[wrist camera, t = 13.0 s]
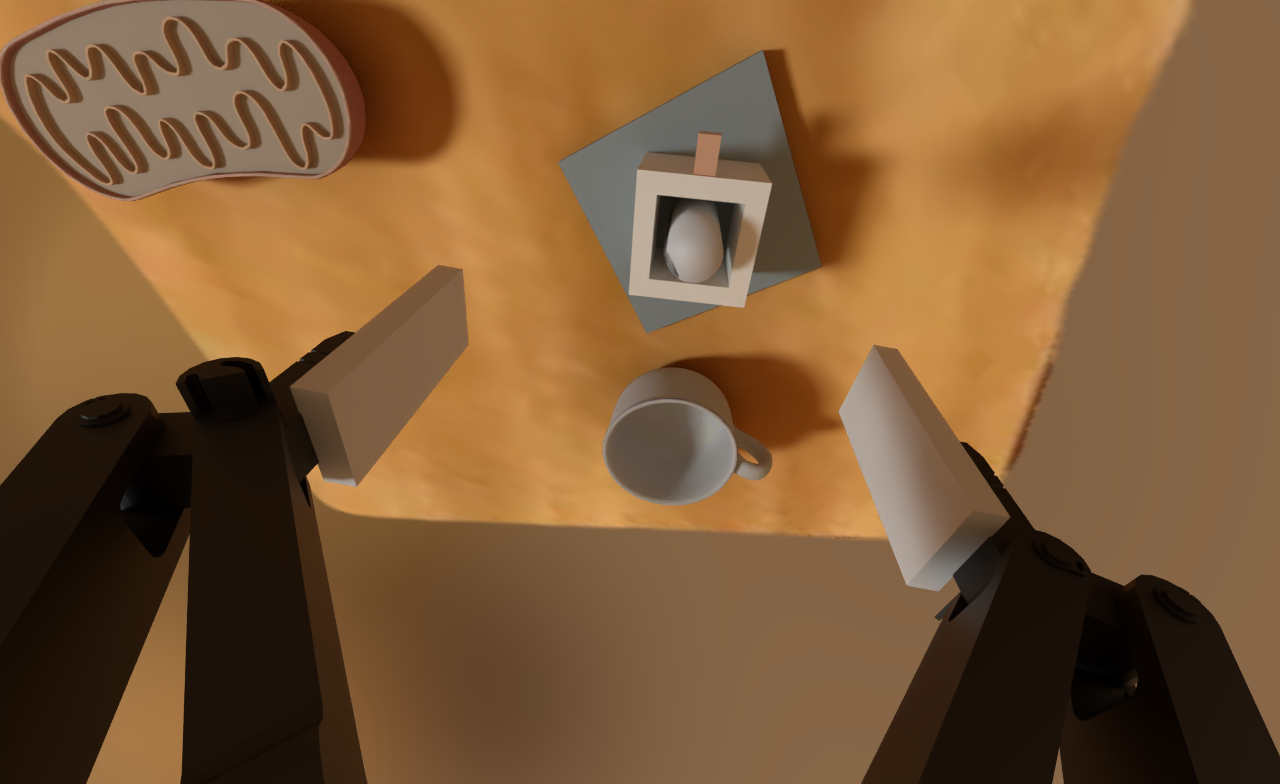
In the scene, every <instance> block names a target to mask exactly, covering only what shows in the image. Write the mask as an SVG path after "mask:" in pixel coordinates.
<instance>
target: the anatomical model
mask: <svg viewBox="0 0 1280 784" xmlns="http://www.w3.org/2000/svg"><path fill="white" fill-rule="evenodd" d="M0 85H1V88H2V91H3V94H4V97H5V100H6V103H7V105H8V107H9V109H10V110H11V112H12V114H13V115H14V117H15V119H16V120H17V122H18V124H19V125H20V127H21V129H22V130H23V131H24V133H25V134H26V135H27V136H28V137H29V139H30V140H31V141H32V142H33V143H34V144H35V146H36V147H37V148H38V149H39V150H40V151H41V153H42V154H43V155H44V156H45V157H46V158H47V159H48V160H49V161H51V162H52V163H53V164H54V165H55V166H57V167H58V168H59V169H60V170H61V171H62V172H64V173H65V174H66V175H67V176H68V177H70V178H72V179H73V180H75V181H76V182H78V183H80V184H81V185H83V186H84V187H86V188H88V189H89V190H91V191H94V192H96V193H98V194H101V195H103V196H106V197H109V198H111V199H116V200H121V201H136V200H140V199H143V198H146V197H149V196H152V195H155V194H157V193H160V192H163V191H166V190H169V189H171V188H174V187H177V186H181V185H185V184H189V183H193V182H197V181H203V180H209V179H215V178H224V177H236V176H267V177H283V178H299V179H320V178H323V177H326V176H328V175H330V174H332V173H334V172H335V171H337V170H338V169H340V168H341V167H343V166H345V165H346V164H347V163H348V162H349V161H350V160H351V159H352V158H353V156H354V155H355V153H356V152H357V150H358V148H359V147H360V145H361V143H362V140H363V137H364V132H365V125H366V111H365V102H364V98H363V94H362V91H361V88H360V85H359V83H358V80H357V78H356V76H355V74H354V73H353V71H352V69H351V68H350V66H349V64H348V63H347V61H346V59H345V58H344V57H343V55H342V54H341V53H340V52H339V50H338V49H337V48H336V47H335V46H334V44H333V43H332V42H331V41H330V40H329V39H327V38H326V37H325V36H324V35H323V34H322V33H321V32H320V31H319V30H318V29H316V28H315V27H314V26H312V25H311V24H309V23H308V22H307V21H305V20H304V19H302V18H300V17H299V16H297V15H296V14H294V13H292V12H290V11H287V10H285V9H283V8H281V7H279V6H276V5H274V4H271V3H268V2H265V1H262V0H105V1H101V2H97V3H93V4H89V5H85V6H82V7H79V8H77V9H74V10H71V11H69V12H66V13H63V14H61V15H58V16H56V17H53V18H51V19H49V20H47V21H45V22H43V23H41V24H39V25H38V26H36V27H34V28H32V29H30V30H28V31H26V32H24V33H22V34H20V35H19V36H17V37H15V38H13V39H11V40H10V41H9V42H8V43H7V44H6V45H5V46H4V47H3V48H2V50H1V52H0Z"/></svg>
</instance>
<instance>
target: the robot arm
mask: <svg viewBox="0 0 1280 784" xmlns="http://www.w3.org/2000/svg"><path fill="white" fill-rule="evenodd" d="M468 345H469V343H468V331H467V318H466V305H465V292H464V280H463V269H458V268H453V267H447V266H442V265H438V266H437V267H435V268H434V269H433V270H432V271H430V272H429V273H428V274H427V275H426V276H424V277H423V278H422V279H421V280H419V281H418V282H417V283H416V284H415V285H413V286H412V287H411V288H410V289H408V290H407V291H406V292H405V293H404V294H402V295H401V296H400V297H399V298H397V299H396V300H395V301H394V302H393V303H391V304H390V305H389V306H388V307H386V308H385V309H384V310H383V311H382V312H380V313H379V314H378V315H377V316H375V317H374V318H373V319H372V320H371V321H369V322H368V323H367V324H366V325H364V326H363V327H362V328H361V329H360V330H358V331H357V332H356V333H354V332H349V331H345V332H342V333H340V334H337V335H335V336H332V337H330V338H327V339H325V340H324V341H323V342H321V343H320V344H319V345H317V346H316V347H315V348H313V349H312V350H311V353H310V352H308V353H307V354H306V355H304V356H303V357H302V358H300V361H299V362H295V363H294V364H293V365H291V366H290V367H289V368H287V369H286V370H285V371H284V372H282V373H281V374H280V375H278V376H277V377H276V378H274V379H273V380H272V381H271V382H269V381H268V379H267V376H266V374H265V371H264V369H263V367H262V365H261V364H260V363H259V362H257V361H255V360H252V359H249V358H240V357H231V358H220V359H216V360H212V361H207V362H204V363H201V364H199V365H197V366H195V367H192V368H190V369H188V370H187V371H186V372H184V373H183V374H182V375H180V376H179V378H178V380H177V382H176V386H177V388H178V390H179V391H180V393H181V395H182V397H183V399H184V400H185V402H186V404H187V406H188V408H189V410H190V412H180V413H158V412H157V410H156V409H155V407H154V406H153V404H152V402H151V401H150V400H149V399H148V398H147V397H146V396H142V395H139V394H131V393H129V394H128V393H119V394H113V395H104V396H100V397H96V398H94V399H90V400H87V401H84V402H82V403H80V404H78V405H76V406H74V407H72V408H70V409H68V410H67V411H65V413H63V414H62V415H61V416H60V417H58V418H57V419H56V420H55V421H54V423H53V424H52V425H51V426H50V427H49V429H48V430H47V431H46V432H45V433H44V434H43V436H42V437H41V438H40V439H39V440H38V442H37V443H36V444H35V445H34V446H33V447H32V449H31V450H30V451H29V452H28V453H27V455H26V456H25V457H24V458H23V459H22V460H21V462H20V463H19V464H18V465H17V466H16V468H15V469H14V470H13V471H12V472H11V474H10V475H9V476H8V477H7V478H6V479H5V481H4V482H3V483H2V484H1V486H0V784H86V783H87V780H88V778H89V776H90V773H91V771H92V768H93V766H94V764H95V761H96V759H97V756H98V754H99V751H100V749H101V747H102V744H103V742H104V739H105V737H106V735H107V732H108V729H109V727H110V725H111V722H112V720H113V718H114V715H115V713H116V710H117V708H118V706H119V703H120V701H121V698H122V696H123V693H124V691H125V688H126V686H127V684H128V681H129V679H130V677H131V674H132V672H133V669H134V667H135V664H136V662H137V660H138V657H139V655H140V652H141V650H142V647H143V645H144V643H145V640H146V638H147V635H148V633H149V631H150V628H151V626H152V623H153V621H154V619H155V616H156V613H157V611H158V609H159V606H160V604H161V602H162V599H163V597H164V594H165V592H166V590H167V587H168V585H169V582H170V580H171V578H172V575H173V572H174V570H175V568H176V565H177V563H178V561H179V558H180V556H181V553H182V551H183V548H184V546H185V544H186V541H187V539H188V536H189V534H190V545H189V546H190V547H189V575H188V605H187V634H186V666H185V693H184V724H183V753H182V755H183V756H182V776H181V783H180V784H368V783H367V780H366V775H365V771H364V766H363V761H362V755H361V750H360V745H359V739H358V734H357V729H356V724H355V718H354V713H353V708H352V703H351V698H350V692H349V687H348V683H347V677H346V672H345V666H344V661H343V656H342V651H341V645H340V641H339V635H338V630H337V625H336V619H335V614H334V609H333V604H332V598H331V593H330V588H329V583H328V578H327V572H326V567H325V562H324V557H323V552H322V546H321V542H320V536H319V531H318V526H317V520H316V516H315V510H314V505H313V499H312V494H311V489H310V485H309V482H308V480H307V477H306V476H307V474H308V473H309V472H310V471H311V470H312V469H313V468H314V467H315V466H316V465H317V464H318V466H319V468H320V471H321V474H322V477H323V479H324V481H326V482H332V483H337V484H343V485H349V486H354V487H357V486H358V485H359V483H360V482H361V481H362V479H363V478H364V477H365V476H366V474H367V473H368V472H369V471H370V469H371V468H372V467H373V465H374V464H375V463H376V462H377V460H378V459H379V458H380V457H381V455H382V454H383V453H384V451H385V450H386V449H387V448H388V446H389V445H390V444H391V443H392V441H393V440H394V439H395V437H396V436H397V435H398V434H399V432H400V431H401V430H402V429H403V427H404V426H405V425H406V423H407V422H408V421H409V420H410V418H411V417H412V416H413V415H414V413H415V412H416V411H417V409H418V408H419V407H420V406H421V404H422V403H423V402H424V401H425V399H426V398H427V397H428V395H429V394H430V393H431V392H432V390H433V389H434V388H435V387H436V385H437V384H438V383H439V381H440V380H441V379H442V378H443V376H444V375H445V374H446V373H447V371H448V370H449V369H450V367H451V366H452V365H453V364H454V362H455V361H456V360H457V359H458V357H459V356H460V355H461V353H462V352H463V351H464V350H465V348H466V347H467V346H468ZM839 414H840V417H841V419H842V422H843V424H844V427H845V429H846V432H847V435H848V437H849V440H850V442H851V445H852V447H853V450H854V452H855V455H856V457H857V460H858V463H859V465H860V468H861V470H862V473H863V475H864V478H865V480H866V483H867V485H868V488H869V491H870V493H871V496H872V498H873V501H874V503H875V506H876V508H877V511H878V514H879V516H880V519H881V521H882V524H883V526H884V529H885V531H886V534H887V536H888V539H889V542H890V544H891V547H892V549H893V552H894V554H895V557H896V559H897V562H898V564H899V567H900V569H901V572H902V575H903V577H904V580H905V582H906V585H907V586H912V587H918V588H924V589H929V590H935V591H939V590H940V589H941V588H942V587H943V586H944V585H945V584H946V583H947V582H948V581H949V580H950V579H951V578H952V577H954V579H955V581H956V583H957V585H958V587H959V589H960V591H961V592H960V593H959V594H958V595H957V596H956V597H955V598H954V599H953V600H952V601H950V602H949V603H948V604H947V605H946V606H945V607H944V608H943V609H942V610H941V611H940V612H939V613H938V614H937V615H936V616H935V618H936V619H938V620H941V619H942V618H943V619H942V621H941V623H940V625H939V627H938V629H937V631H936V633H935V635H934V637H933V640H932V641H931V643H930V646H929V647H928V650H927V651H926V654H925V655H924V657H923V660H922V662H921V664H920V666H919V668H918V670H917V672H916V674H915V676H914V678H913V680H912V682H911V684H910V686H909V688H908V690H907V692H906V694H905V696H904V698H903V700H902V702H901V704H900V706H899V708H898V710H897V712H896V714H895V716H894V719H893V720H892V722H891V724H890V727H889V728H888V730H887V733H886V734H885V737H884V738H883V741H882V743H881V745H880V747H879V749H878V751H877V753H876V755H875V757H874V759H873V761H872V763H871V765H870V767H869V769H868V771H867V773H866V775H865V777H864V779H863V781H862V783H861V784H1052V781H1053V776H1054V771H1055V766H1056V761H1057V756H1058V750H1059V747H1060V755H1061V764H1062V772H1063V779H1064V784H1280V756H1279V753H1278V751H1277V749H1276V747H1275V745H1274V743H1273V740H1272V738H1271V736H1270V734H1269V732H1268V730H1267V727H1266V725H1265V723H1264V721H1263V719H1262V716H1261V714H1260V712H1259V710H1258V708H1257V706H1256V704H1255V701H1254V699H1253V697H1252V695H1251V693H1250V690H1249V688H1248V686H1247V684H1246V682H1245V679H1244V677H1243V675H1242V673H1241V671H1240V669H1239V666H1238V664H1237V662H1236V660H1235V658H1234V655H1233V654H1232V651H1231V649H1230V647H1229V645H1228V643H1227V640H1226V638H1225V636H1224V634H1223V632H1222V629H1221V627H1220V626H1219V624H1218V622H1217V621H1216V619H1215V618H1214V616H1213V615H1212V614H1211V613H1210V612H1209V611H1208V610H1207V609H1206V608H1205V607H1204V606H1203V605H1202V604H1201V602H1200V601H1199V600H1198V599H1197V598H1195V597H1194V596H1193V595H1190V594H1189V592H1187V591H1186V590H1184V589H1182V588H1181V587H1178V586H1176V585H1174V584H1172V583H1171V582H1169V581H1167V580H1164V579H1161V578H1158V577H1156V576H1153V575H1140V576H1138V577H1137V578H1135V579H1134V580H1132V581H1131V582H1130V583H1128V584H1127V585H1125V586H1123V585H1120V584H1118V583H1115V582H1113V581H1111V580H1108V579H1106V578H1103V577H1101V576H1099V575H1096V574H1094V573H1091V570H1090V568H1089V567H1088V565H1087V564H1086V562H1085V561H1084V559H1083V558H1082V557H1081V556H1079V554H1078V553H1077V552H1075V550H1074V549H1072V548H1071V547H1070V546H1068V545H1067V544H1065V543H1064V542H1062V541H1061V540H1060V539H1058V538H1056V537H1054V536H1051V535H1049V534H1047V533H1045V532H1041V531H1037V530H1035V529H1034V528H1033V526H1032V525H1031V524H1030V522H1029V521H1028V520H1027V518H1026V517H1025V515H1024V514H1023V512H1022V511H1021V509H1020V508H1019V507H1018V505H1017V504H1016V503H1015V501H1014V500H1013V498H1012V497H1011V495H1010V494H1009V493H1008V491H1007V490H1006V489H1005V488H1003V486H1004V485H1003V484H1002V483H1001V481H1000V480H999V478H998V477H997V476H994V471H993V470H992V468H991V467H990V466H989V464H988V463H987V461H986V460H985V459H984V457H983V456H981V455H980V454H979V453H978V452H977V451H976V450H974V449H973V448H972V447H971V446H970V445H969V444H968V443H965V442H960V441H959V440H958V438H957V437H956V435H955V434H954V432H953V431H952V429H951V428H950V427H949V425H948V424H947V422H946V421H945V419H944V418H943V416H942V415H941V413H940V412H939V410H938V409H937V407H936V406H935V404H934V403H933V401H932V400H931V398H930V397H929V395H928V394H927V392H926V391H925V389H924V388H923V386H922V385H921V383H920V382H919V381H918V379H917V378H916V376H915V375H914V373H913V372H912V370H911V369H910V367H909V366H908V364H907V363H906V361H905V360H904V358H903V357H902V355H901V354H900V352H899V351H898V349H894V348H888V347H883V346H877V345H873V347H872V349H871V351H870V353H869V355H868V356H867V358H866V360H865V362H864V364H863V366H862V368H861V370H860V372H859V374H858V376H857V378H856V379H855V381H854V383H853V385H852V387H851V389H850V391H849V393H848V395H847V397H846V399H845V401H844V403H843V404H842V406H841V408H840V410H839ZM1135 684H1137V687H1135Z"/></svg>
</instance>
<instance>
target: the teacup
mask: <svg viewBox="0 0 1280 784" xmlns="http://www.w3.org/2000/svg"><path fill="white" fill-rule="evenodd" d="M737 446H738V447H740V448H742V449H744V450H745V451H747V452H748V453H750V454H751V455H752V456H753V457H754V458H755V459H756V460H757V461H758V463H759V464H755V463H751V462H749V461H746V460H745V459H744V458H743V457H742V456H741V455H740V454H739V452H738V447H737ZM603 457H604V462H605V465H606V467H607V469H608V471H609V473H610V475H611V476H612V478H613V479H614V480H615V481H616V482H617V483H618V484H619V485H620V486H621V487H622V488H623V489H624V490H626V491H628V492H629V493H630V494H632V495H634V496H636V497H638V498H640V499H642V500H645V501H648V502H651V503H657V504H661V505H686V504H691V503H695V502H698V501H701V500H704V499H706V498H708V497H710V496H712V495H714V494H715V493H716V492H718V491H719V490H720V489H721V488H722V487H723V486H724V485H725V484H726V483H727V481H728V480H729V479H730V478H731V476H732V474H733V472H735V473H736V474H738V475H739V476H741V477H743V478H746V479H750V480H760V479H762V478H764V477H765V476H766V475H767V474H768V473H769V472H770V469H771V467H772V456H771V453H770V452H769V450H768V449H767V448H766V447H765V446H764V445H763V444H762V443H761V442H760V441H758V440H757V439H755V438H754V437H752V436H750V435H749V434H747V433H745V432H743V431H741V430H739V429H738V428H737V427H736V426H735V425H734V424H733V421H732V416H731V411H730V408H729V405H728V402H727V400H726V398H725V396H724V395H723V393H722V392H721V390H720V389H719V388H718V387H717V386H716V385H715V384H714V383H713V382H712V381H711V380H709V379H708V378H706V377H705V376H703V375H701V374H699V373H697V372H694V371H692V370H688V369H684V368H676V367H668V368H660V369H655V370H652V371H649V372H647V373H645V374H643V375H641V376H639V377H638V378H636V379H635V380H634V381H632V382H631V383H630V384H629V385H628V386H627V387H626V389H625V390H624V391H623V393H622V394H621V396H620V397H619V399H618V401H617V404H616V406H615V409H614V412H613V415H612V418H611V422H610V425H609V428H608V430H607V433H606V435H605V438H604V443H603Z"/></svg>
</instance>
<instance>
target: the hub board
mask: <svg viewBox="0 0 1280 784" xmlns="http://www.w3.org/2000/svg"><path fill="white" fill-rule="evenodd" d="M699 131H708V132H718V133H721V135H722V137H721V143H720V150H719V156H718V159H722V160H732V161H741V162H751V163H760V164H761V166H762V167H763V169H764V171H765V172H766V174H767V176H768V177H769V179H770V181H771V182H772V187H771V191H770V196H769V200H768V204H767V209H766V213H765V218H764V222H763V227H762V231H761V235H760V240H759V244H758V249H757V253H756V258H755V262H754V266H753V271H752V275H751V280H750V284H749V289H748V293H747V295H749V294H751V293H754V292H757V291H759V290H762V289H765V288H767V287H770V286H772V285H775V284H778V283H780V282H783V281H786V280H788V279H791V278H793V277H796V276H799V275H801V274H804V273H807V272H809V271H812V270H814V269H817V268H820V267H822V265H821V262H820V258H819V254H818V251H817V247H816V243H815V240H814V236H813V232H812V229H811V225H810V221H809V218H808V214H807V210H806V207H805V203H804V199H803V196H802V192H801V188H800V185H799V181H798V177H797V174H796V170H795V166H794V163H793V159H792V155H791V152H790V148H789V144H788V141H787V137H786V133H785V130H784V126H783V122H782V119H781V115H780V111H779V108H778V104H777V100H776V97H775V93H774V89H773V86H772V82H771V78H770V75H769V71H768V67H767V64H766V60H765V56H764V53H763V50H761V51H759V52H757V53H755V54H753V55H752V56H750V57H748V58H746V59H744V60H742V61H741V62H739V63H737V64H735V65H733V66H732V67H730V68H728V69H726V70H724V71H722V72H721V73H719V74H717V75H715V76H713V77H712V78H710V79H708V80H706V81H704V82H702V83H701V84H699V85H697V86H695V87H693V88H691V89H690V90H688V91H686V92H684V93H682V94H681V95H679V96H677V97H675V98H673V99H671V100H670V101H668V102H666V103H664V104H662V105H661V106H659V107H657V108H655V109H653V110H651V111H650V112H648V113H646V114H644V115H642V116H640V117H639V118H637V119H635V120H633V121H631V122H630V123H628V124H626V125H624V126H622V127H620V128H619V129H617V130H615V131H613V132H611V133H609V134H608V135H606V136H604V137H602V138H600V139H599V140H597V141H595V142H593V143H591V144H589V145H588V146H586V147H584V148H582V149H580V150H579V151H577V152H575V153H573V154H571V155H569V156H568V157H566V158H564V159H562V160H561V161H560V162H558V163H559V165H560V167H561V169H562V171H563V173H564V174H565V176H566V178H567V180H568V182H569V184H570V186H571V188H572V190H573V192H574V194H575V196H576V198H577V200H578V201H579V203H580V205H581V207H582V209H583V211H584V213H585V215H586V217H587V219H588V221H589V223H590V225H591V227H592V229H593V230H594V232H595V234H596V236H597V238H598V240H599V242H600V244H601V246H602V248H603V250H604V252H605V254H606V256H607V257H608V259H609V261H610V263H611V265H612V267H613V269H614V271H615V273H616V275H617V277H618V279H619V281H620V283H621V285H622V286H623V288H624V290H625V292H626V294H627V296H628V298H629V300H630V302H631V304H632V306H633V308H634V310H635V312H636V313H637V315H638V317H639V319H640V321H641V323H642V325H643V327H644V329H645V331H646V333H649V332H652V331H654V330H657V329H660V328H662V327H665V326H667V325H670V324H673V323H675V322H678V321H681V320H683V319H686V318H688V317H691V316H694V315H696V314H699V313H702V312H704V311H707V310H709V309H712V308H715V307H717V306H720V305H715V304H706V303H698V302H689V301H680V300H671V299H662V298H653V297H644V296H635V295H629V283H630V268H631V253H632V239H633V224H634V209H635V194H636V179H637V169H638V167H639V165H640V163H641V161H642V159H643V157H644V156H645V154H646V152H653V153H663V154H673V155H683V156H692V157H695V155H696V148H697V140H698V133H699ZM733 205H734V203H730V202H721V201H711V200H702V199H692V198H683V197H673V196H664V195H661V198H660V208H659V218H658V229H657V239H656V248H663V249H664V252H663V254H664V256H665V259H666V262H667V265H668V267H669V269H670V271H671V272H672V274H673V276H674V279H675V278H679V279H680V280H682V281H685V282H690V283H698V282H702V281H705V280H707V279H709V278H711V277H712V276H713V275H714V274H715V273H716V272H717V271H718V270H719V268H720V266H721V264H722V261H723V255H724V253H725V248H726V242H727V237H728V232H729V226H730V221H731V215H732V210H733Z"/></svg>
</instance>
